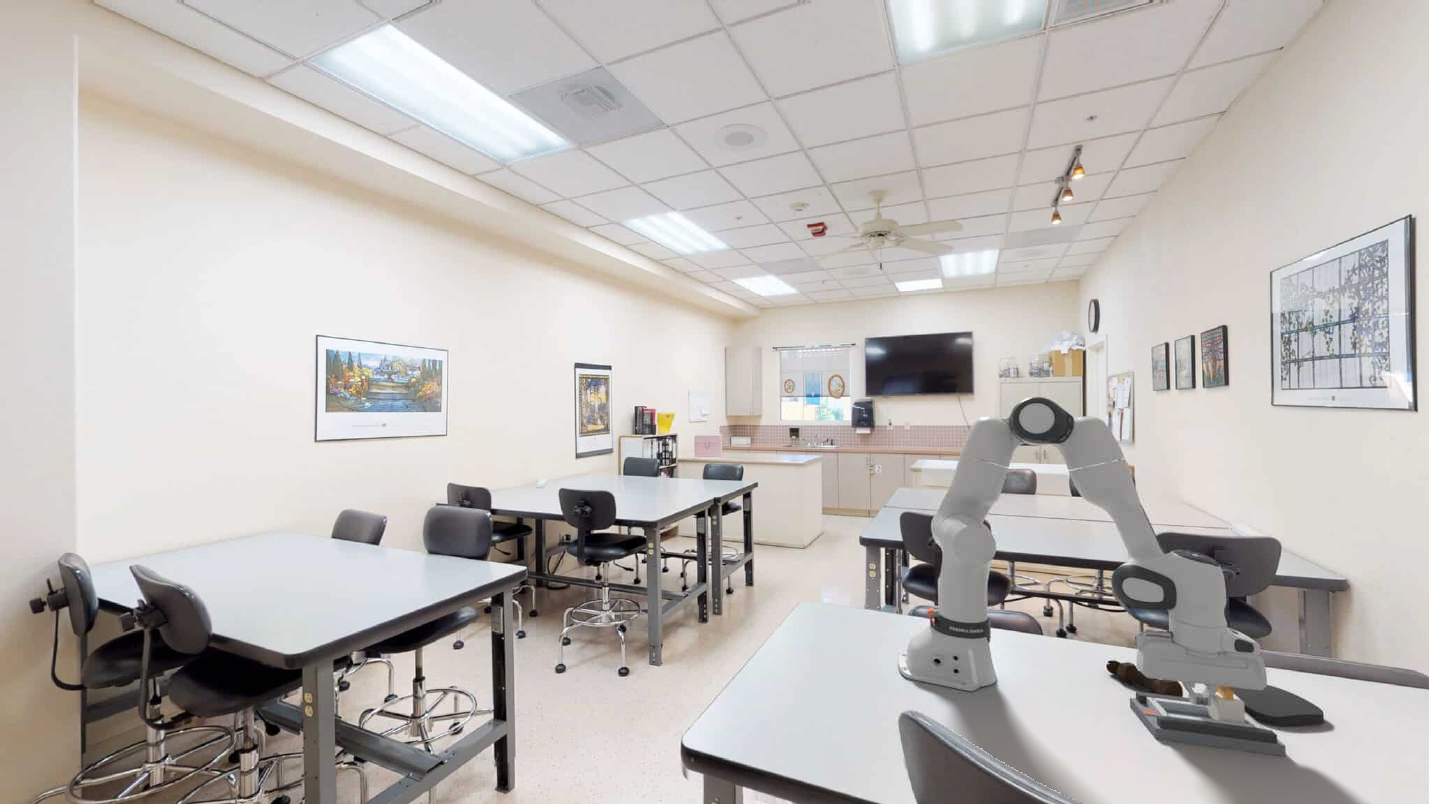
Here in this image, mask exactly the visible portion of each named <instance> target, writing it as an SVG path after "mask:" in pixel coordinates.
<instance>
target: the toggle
mask: <svg viewBox="0 0 1429 804" xmlns="http://www.w3.org/2000/svg"><path fill="white" fill-rule="evenodd" d="M1208 715H1209V716H1210V717H1211V718H1212V719H1215V720H1223V721H1231V722H1239V723H1245V712H1244V702H1243V701H1242V700H1241V699H1239V698H1238V697H1237V696H1236V695H1235V694H1233V691H1232V690H1231V689H1229V688H1228V687H1226V686H1218V691H1217V692H1216V694H1215V695H1214V696H1213V697H1212V698H1211V706H1208Z"/></svg>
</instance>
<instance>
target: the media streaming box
mask: <svg viewBox="0 0 1429 804" xmlns="http://www.w3.org/2000/svg"><path fill="white" fill-rule="evenodd" d="M1228 688H1229V689H1231V690H1232V691H1233V694H1235V695H1236V696H1237V697H1238V698H1239V699H1241V700H1242V701H1243V702H1244V708H1245V712H1246V713H1247V714H1249V715H1250V716H1251V717H1252V718H1253V719H1254V720H1256V721H1257V722H1258V723H1260V724H1261V723H1262V724H1265V725H1269V726H1273V727H1281V728H1283V727H1285V728H1286V727H1307V726H1308V727H1309V726H1310V727H1311V726H1320V725H1323V724H1324V722H1325V718H1324V711H1323V709H1321V708H1320V707H1319V706H1317V705H1316V704H1314V703H1312V702H1311V701H1308V700H1307V699H1305V698H1303V697H1301V696H1299V695H1297V694H1296V693H1292V692H1290V691H1287V690H1285V689H1282V688H1279V687H1276V686H1273V685H1271V684H1267V686H1266V687H1265V688H1264V689H1263V690H1253V689H1244V688H1235V687H1228Z"/></svg>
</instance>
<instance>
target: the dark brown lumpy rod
mask: <svg viewBox="0 0 1429 804" xmlns="http://www.w3.org/2000/svg"><path fill="white" fill-rule="evenodd" d="M1106 670H1107V671H1108V672H1109V673H1111V674H1112V675H1115V676H1116V677H1118V679H1119V680H1120V681H1121V683H1124V684H1126V685H1133V684H1134V685H1137V686H1138V687H1141V688H1143V689H1145V690H1147V691H1149V692H1150V693H1153V694H1160V695H1169V696H1177V697H1184V691H1183V685H1182V684H1180V681H1172V680H1163V679H1154V678H1147V677H1146V676H1145V675H1143V674H1142V673H1141V672H1140V670H1139V669H1138V668H1137V665H1135V664H1134V663H1132V662H1128V661H1127V662H1119V661H1117V660H1113V659H1111V660H1107V663H1106Z"/></svg>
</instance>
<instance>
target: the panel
mask: <svg viewBox="0 0 1429 804" xmlns="http://www.w3.org/2000/svg"><path fill="white" fill-rule="evenodd" d="M1129 707H1130V710H1132V712H1133V713H1134V714H1135V715H1136V717H1138V719H1139V720H1140V721H1141V722H1142V724H1143V725H1144V727H1145V728H1146V729H1147V730H1148V731H1149V732H1150V734H1151V735H1152V736H1153V738H1154V739H1156V740H1162V741H1168V742H1169V741H1171V742H1176V743H1177V742H1179V743H1184V744H1193V745H1199V746H1206V747H1211V748H1212V747H1215V748H1220V749H1228V750H1235V751H1243V752H1249V753H1255V754H1256V753H1258V754H1264V755H1265V754H1266V755H1271V756H1279V757H1286V756H1287V755H1286V745H1285V743H1283V742H1281V741H1280V740H1279V738H1278V735H1277V734H1276V733H1275V732H1274V731H1273V730H1271V729H1267V728H1266V727H1265V726H1264V725H1262V724H1261V723H1260V722H1258V721H1256V720H1254V719H1253V718H1252V717H1251V716H1250V715H1249V714H1247V713H1246V712H1245V708H1244V712H1245V723H1239V722H1231V721H1223V720H1215V719H1212V718H1211V717H1210V716H1209V715H1208V706H1202V705H1194V704H1192V703H1191V702H1190V701H1189V697H1186V696H1183V697H1177V696H1169V695H1160V694H1156V693H1153V692H1150V693H1149V692H1141V691H1135V698H1133V697H1129Z"/></svg>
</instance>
